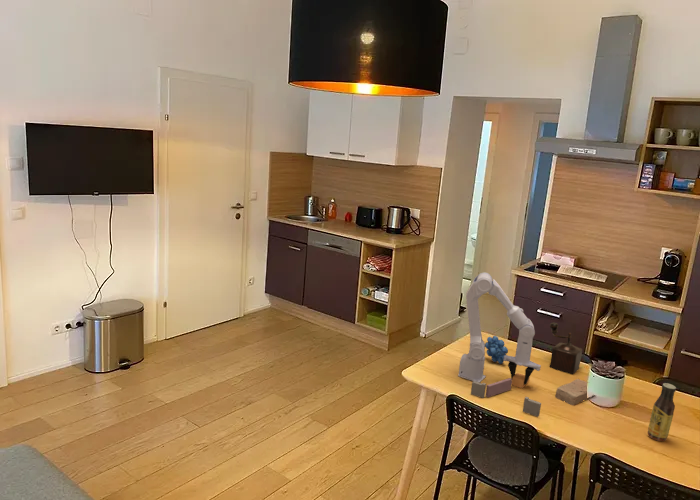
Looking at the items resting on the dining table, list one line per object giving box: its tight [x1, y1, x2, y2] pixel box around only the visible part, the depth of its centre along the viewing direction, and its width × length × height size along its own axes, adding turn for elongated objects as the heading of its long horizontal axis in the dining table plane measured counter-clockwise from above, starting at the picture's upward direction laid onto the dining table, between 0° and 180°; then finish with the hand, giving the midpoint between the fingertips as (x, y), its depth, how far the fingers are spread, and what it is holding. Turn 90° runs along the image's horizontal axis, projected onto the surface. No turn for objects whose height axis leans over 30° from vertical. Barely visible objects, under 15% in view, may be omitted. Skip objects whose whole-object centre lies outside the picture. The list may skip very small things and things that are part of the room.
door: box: [485, 377, 512, 398], centre depth 214 cm, size 14×2×4 cm, turn 126°
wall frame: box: [470, 381, 542, 418], centre depth 205 cm, size 26×2×6 cm, turn 56°
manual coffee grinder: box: [549, 322, 583, 375], centre depth 243 cm, size 16×11×18 cm
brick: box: [554, 378, 589, 406], centre depth 216 cm, size 17×8×5 cm, turn 127°
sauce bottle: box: [647, 382, 677, 442], centre depth 187 cm, size 6×6×20 cm
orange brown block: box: [511, 372, 531, 389], centre depth 225 cm, size 4×9×4 cm, turn 146°
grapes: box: [484, 335, 509, 365], centre depth 242 cm, size 12×7×12 cm, turn 44°
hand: (519, 381), depth 223 cm, fingers closed on orange brown block, 4 cm apart
